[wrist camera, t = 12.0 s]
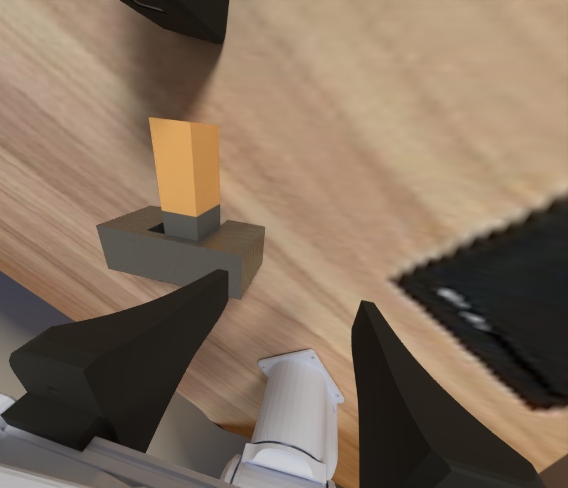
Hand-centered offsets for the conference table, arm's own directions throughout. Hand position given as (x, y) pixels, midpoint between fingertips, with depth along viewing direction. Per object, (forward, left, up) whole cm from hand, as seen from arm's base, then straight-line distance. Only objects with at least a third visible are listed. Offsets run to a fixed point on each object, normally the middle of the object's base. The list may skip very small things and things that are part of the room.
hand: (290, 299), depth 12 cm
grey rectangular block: (+4, +9, -9) cm, 14 cm away
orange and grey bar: (+7, +7, -9) cm, 14 cm away
